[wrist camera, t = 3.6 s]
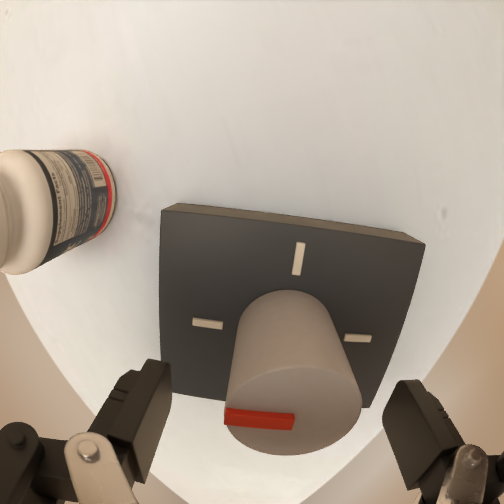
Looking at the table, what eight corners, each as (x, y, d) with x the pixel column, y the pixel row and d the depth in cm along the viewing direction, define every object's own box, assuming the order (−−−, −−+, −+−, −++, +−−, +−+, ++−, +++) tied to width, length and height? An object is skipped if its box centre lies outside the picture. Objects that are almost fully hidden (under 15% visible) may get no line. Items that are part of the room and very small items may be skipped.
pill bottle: (48, 236, 15) (-59, 287, 7) (48, 151, 14) (-71, 160, 6) (118, 244, 15) (7, 315, 7) (121, 148, 14) (-7, 143, 5)
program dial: (341, 294, 13) (384, 374, 7) (320, 371, 14) (340, 461, 9) (242, 283, 13) (227, 365, 7) (233, 364, 14) (219, 457, 9)
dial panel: (404, 232, 15) (428, 244, 12) (359, 382, 17) (370, 410, 15) (176, 202, 15) (159, 210, 12) (173, 365, 17) (161, 392, 15)
